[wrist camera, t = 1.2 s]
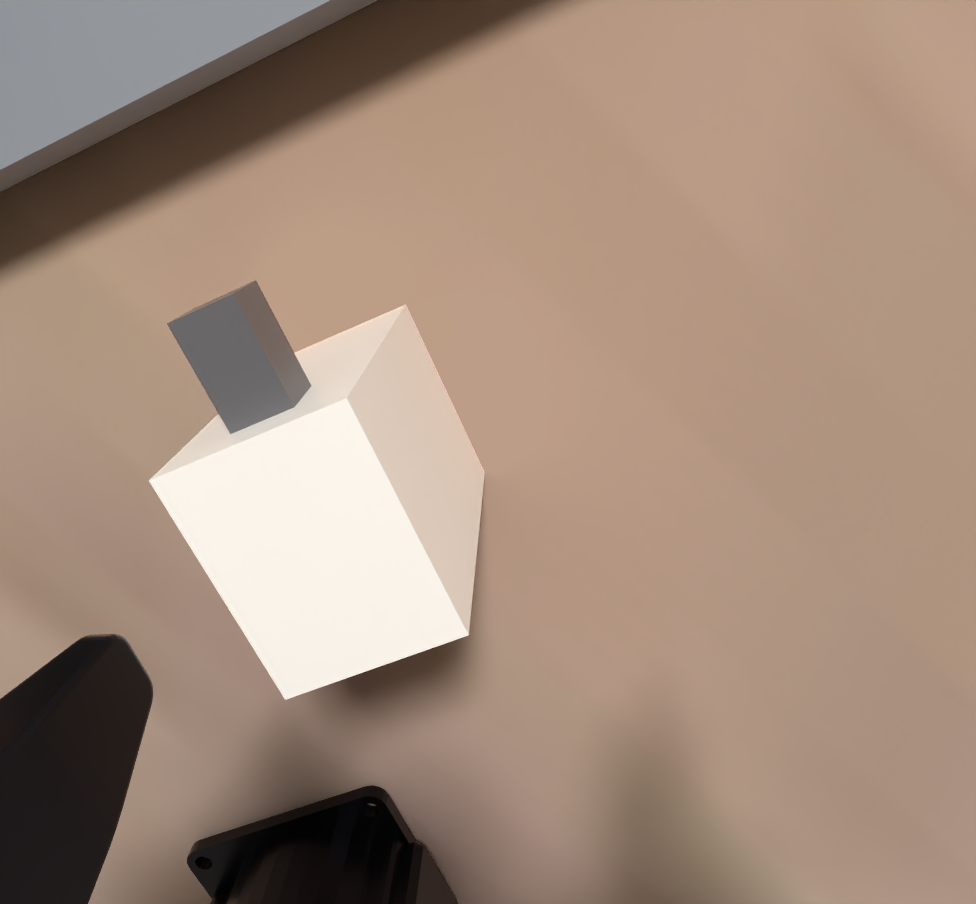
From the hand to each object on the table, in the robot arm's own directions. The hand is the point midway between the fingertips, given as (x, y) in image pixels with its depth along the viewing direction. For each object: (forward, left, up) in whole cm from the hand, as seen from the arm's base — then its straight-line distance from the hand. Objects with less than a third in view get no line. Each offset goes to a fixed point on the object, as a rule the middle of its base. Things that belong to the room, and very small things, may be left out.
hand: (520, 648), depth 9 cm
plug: (-4, 0, -11) cm, 12 cm away
